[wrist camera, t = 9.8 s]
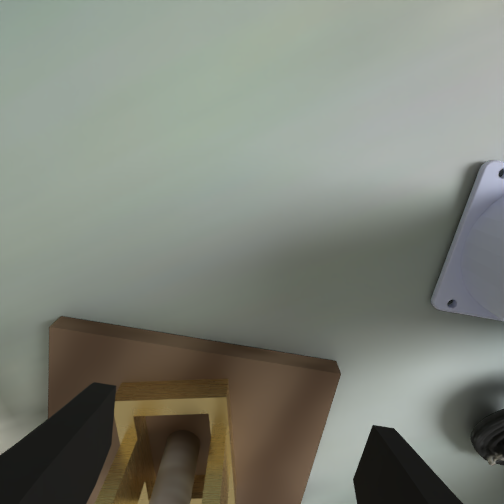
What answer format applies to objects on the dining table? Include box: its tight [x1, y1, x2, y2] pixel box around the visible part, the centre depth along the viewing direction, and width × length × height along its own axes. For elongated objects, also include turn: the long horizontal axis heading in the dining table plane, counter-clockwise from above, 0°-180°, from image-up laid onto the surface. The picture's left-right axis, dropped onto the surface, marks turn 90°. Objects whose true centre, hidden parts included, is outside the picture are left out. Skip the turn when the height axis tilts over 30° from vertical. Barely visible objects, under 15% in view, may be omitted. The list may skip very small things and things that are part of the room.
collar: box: [95, 379, 237, 504], centre depth 18 cm, size 6×8×6 cm
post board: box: [48, 316, 341, 504], centre depth 19 cm, size 16×13×6 cm
